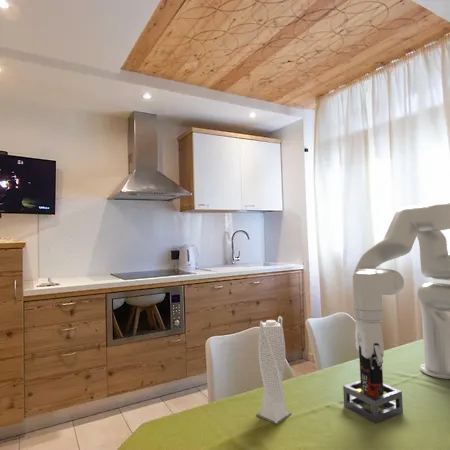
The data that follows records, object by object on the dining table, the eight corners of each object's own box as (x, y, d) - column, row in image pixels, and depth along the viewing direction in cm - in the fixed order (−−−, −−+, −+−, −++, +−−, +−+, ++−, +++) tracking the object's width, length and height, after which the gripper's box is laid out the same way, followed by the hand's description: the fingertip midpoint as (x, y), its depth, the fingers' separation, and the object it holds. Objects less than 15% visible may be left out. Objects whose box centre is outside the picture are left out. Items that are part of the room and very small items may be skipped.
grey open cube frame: (370, 397, 104) (369, 375, 104) (402, 413, 94) (401, 389, 94) (343, 406, 99) (342, 383, 99) (375, 424, 89) (374, 398, 89)
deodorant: (386, 398, 97) (384, 345, 98) (380, 406, 92) (377, 351, 93) (365, 392, 101) (363, 341, 101) (358, 400, 96) (355, 346, 97)
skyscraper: (295, 416, 94) (291, 314, 96) (278, 428, 89) (274, 320, 90) (271, 406, 100) (268, 310, 101) (253, 417, 95) (250, 315, 96)
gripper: (346, 308, 106) (349, 367, 106) (365, 322, 89) (369, 392, 89) (370, 308, 106) (373, 366, 105) (394, 321, 89) (398, 391, 88)
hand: (371, 377), depth 97 cm, fingers closed on deodorant, 5 cm apart
